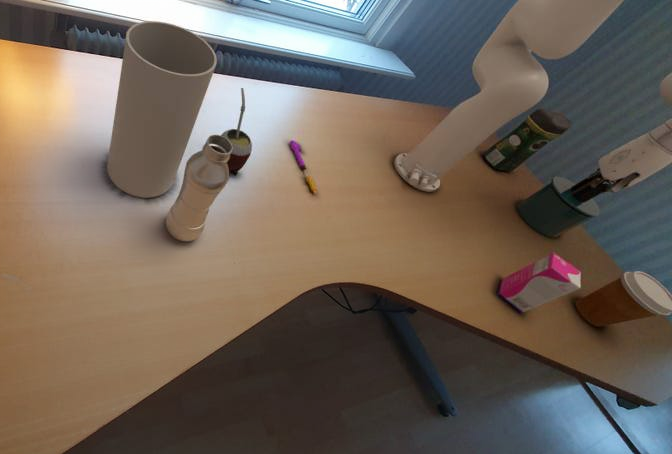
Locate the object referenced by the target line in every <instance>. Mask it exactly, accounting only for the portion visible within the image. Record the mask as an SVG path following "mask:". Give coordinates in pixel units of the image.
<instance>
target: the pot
mask: <svg viewBox="0 0 672 454" xmlns="http://www.w3.org/2000/svg"><path fill="white" fill-rule="evenodd" d="M517 210H518V212H519V214H520V216H521V217H522V218H523V220H524V221H525V222H526V223H527V224H528V225H529V226H530V227H531V228H532V229H534V231H536V232H538V233H540V234H541V235H544V236H546V237H549V238H556V237H559V236H562V235H564V234H565V233H567V232H569V231H571V230H573V229H575V228H576V227H579V226H580V225H582V224H584V223H586V222H588V221H590V220H591V219H594V218H595V217H591V216H587V215H585V214H583V213H581V212H579V211H577V210H576V209H574V208H573V207H571V206H570V205H569V204H567V203H566V202H565V201H564V200H563V199H562V198H561V197H560V196H559V195H558V193H557V192H556V191H555V189H554V188H553V186H552V183H551V182H549V183H548V184H546V185H545V186H543V187H542V188H540V189H538V190H537V191H536V192H534V193H532V194H531V195H528V197H527V198H524V199H523V200H521V201H520V202H518V204H517Z"/></svg>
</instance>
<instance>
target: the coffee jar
mask: <svg viewBox="0 0 672 454" xmlns="http://www.w3.org/2000/svg"><path fill="white" fill-rule="evenodd" d="M571 126H572V121H571V119H570V118H569V117H568V116H566V114H564V113H563V112H558V111H554V110H551V109H546V108H541V107H540V108H539V107H538V108H536V109H535V110H534V111H533V112H531V113H530V114H529V115H528V116H527V117H526V118H525V119H524V120H523V121H522V122H521V123H520V124H519V125H517V127H516V128H514V129H513V130H511V131H510V132H509V133H507V134H506V135H505V136H503V138H501V139H499V141H497V142H496V143H494V144H493V145H491V146H490V147H489V148H488V149H487V150H485V151H483V158H484V160H485V162H486V163H487V164H488V165H490V166H491V167H492V168H494V169H495V170H498V171H501V172H513V171H515V170H516V169H517V168H519V167H520V166H522V164H523V163H525V162H526V161H527V160H528V159H530V158H531V157H532V156H533V155H535V154H536V153H538V152H539V151H540V150H541V149H542V148H543V147H545V146H547V144H549V143H551V142H552V141H553V140H555V139H557V138H559V137H561V136H562V135H563V134H564V133H566V132H567V131H568V130H569V129H570V128H571Z"/></svg>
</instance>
